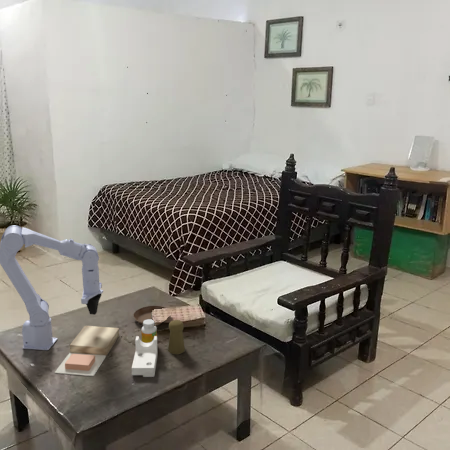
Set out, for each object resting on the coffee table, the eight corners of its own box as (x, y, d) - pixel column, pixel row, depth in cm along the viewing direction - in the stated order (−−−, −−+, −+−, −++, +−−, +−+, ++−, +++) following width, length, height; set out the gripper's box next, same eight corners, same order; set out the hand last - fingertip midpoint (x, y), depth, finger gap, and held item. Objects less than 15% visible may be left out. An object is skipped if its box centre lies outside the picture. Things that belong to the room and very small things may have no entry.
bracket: (137, 355, 170) (136, 336, 168) (157, 355, 171) (157, 336, 168) (131, 377, 158) (131, 356, 156) (154, 377, 158) (153, 356, 156)
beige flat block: (70, 352, 171) (69, 345, 170) (85, 332, 184) (84, 325, 183) (106, 355, 169) (106, 347, 169) (119, 335, 183) (118, 328, 182)
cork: (164, 349, 174) (163, 321, 171) (177, 343, 178) (176, 315, 175) (175, 356, 170) (175, 327, 167) (188, 349, 174) (188, 321, 171)
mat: (54, 373, 159) (54, 372, 159) (69, 353, 170) (69, 352, 170) (93, 376, 158) (93, 375, 157) (106, 356, 169) (106, 355, 169)
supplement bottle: (154, 351, 173) (153, 326, 170) (139, 349, 174) (138, 324, 171) (159, 343, 178) (158, 319, 175) (144, 341, 179) (144, 317, 176)
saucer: (140, 332, 186) (139, 325, 185) (128, 315, 198) (128, 309, 198) (176, 324, 192) (176, 318, 192) (163, 308, 205) (163, 302, 204)
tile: (72, 353, 166) (72, 358, 166) (64, 363, 160) (65, 368, 161) (95, 355, 165) (95, 360, 166) (88, 365, 159) (88, 370, 160)
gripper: (94, 288, 168) (96, 323, 172) (108, 272, 181) (110, 305, 185) (74, 286, 168) (77, 322, 172) (90, 270, 182) (92, 304, 186)
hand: (93, 313), depth 179 cm, fingers closed
